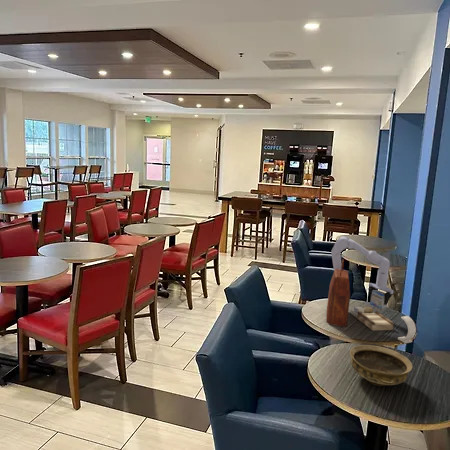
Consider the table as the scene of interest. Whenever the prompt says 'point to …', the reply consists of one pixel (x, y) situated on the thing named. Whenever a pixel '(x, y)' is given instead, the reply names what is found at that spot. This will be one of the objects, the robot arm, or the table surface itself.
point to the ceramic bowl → (380, 364)
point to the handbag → (338, 298)
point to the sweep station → (374, 320)
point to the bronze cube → (368, 310)
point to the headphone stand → (410, 330)
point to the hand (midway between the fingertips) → (378, 302)
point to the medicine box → (378, 299)
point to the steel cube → (358, 309)
